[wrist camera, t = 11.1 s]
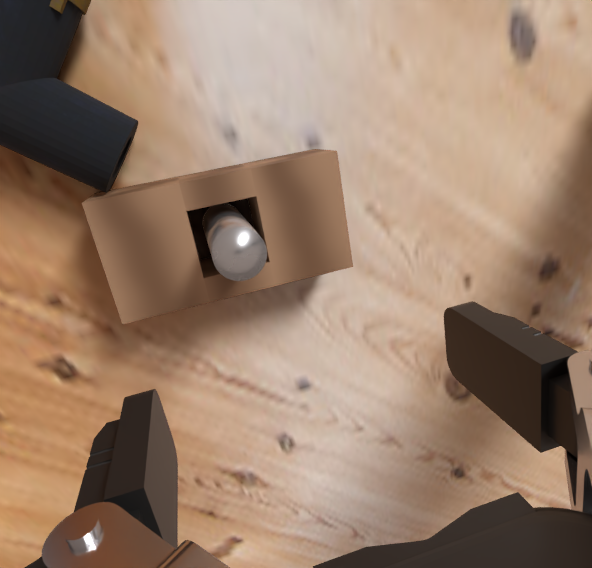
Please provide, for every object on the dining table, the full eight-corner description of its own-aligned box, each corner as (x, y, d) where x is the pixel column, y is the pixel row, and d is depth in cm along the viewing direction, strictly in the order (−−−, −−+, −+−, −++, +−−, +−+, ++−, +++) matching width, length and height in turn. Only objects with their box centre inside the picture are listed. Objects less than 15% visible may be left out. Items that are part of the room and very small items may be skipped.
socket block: (315, 149, 35) (337, 150, 30) (331, 250, 37) (352, 266, 33) (95, 193, 32) (81, 203, 27) (129, 299, 34) (122, 324, 30)
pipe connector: (-140, -191, 20) (181, 11, 25) (-78, -129, 25) (181, 29, 30) (-210, 59, 22) (100, 198, 28) (-140, 71, 27) (112, 187, 32)
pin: (238, 199, 34) (261, 222, 25) (246, 238, 35) (271, 273, 26) (198, 208, 34) (206, 234, 25) (207, 246, 35) (219, 286, 26)
